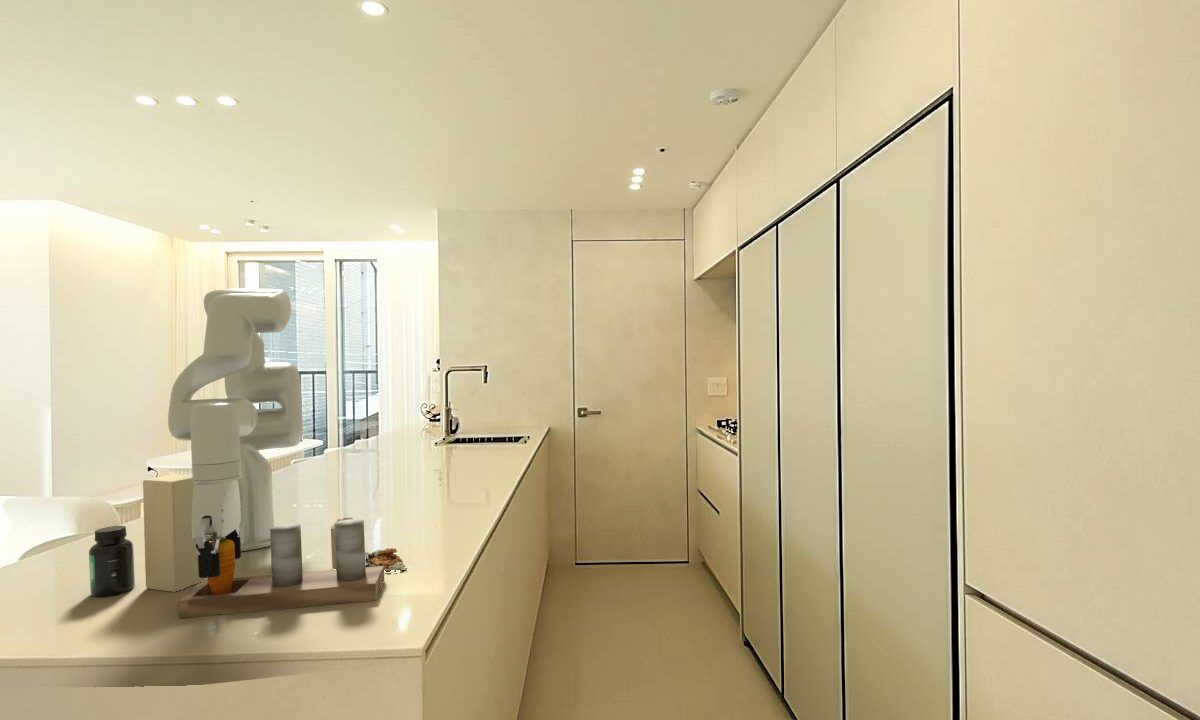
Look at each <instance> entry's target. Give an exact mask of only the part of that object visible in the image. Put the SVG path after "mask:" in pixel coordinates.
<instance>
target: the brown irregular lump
mask: <svg viewBox="0 0 1200 720" xmlns="http://www.w3.org/2000/svg"><path fill="white" fill-rule="evenodd" d="M397 552H398V550H397V548H393V547H392V548H389V547H387V548H385V549H381V548H377V549H376V550H375V551H372V552H371V553H369V552H368V551H365V564H368V567H374V566H384V570H385V571H386V572H390V571H391V570H395V571H394V572H396V570H400V571H402V570H404V571H406V570H407V569H406V568H405V567H407V566H406V565H405V563H404V561H403V559H402V558H400V556H399V555H397V554H395V553H397ZM405 569H406V570H405ZM402 572H403V571H402Z"/></svg>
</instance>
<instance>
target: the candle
mask: <svg viewBox="0 0 1200 720" xmlns="http://www.w3.org/2000/svg"><path fill="white" fill-rule="evenodd" d="M349 519H354V518H353V517H343V518H342V519H340V518H338V519H336V521H335V522H334V523H333V524H332V526H331V527H330V541H331V542H330V543H331V566H332V567H331V568H333V569H336V545H335V523H337V522H339V521H343V520H349ZM333 569H332V570H333Z"/></svg>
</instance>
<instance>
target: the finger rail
mask: <svg viewBox="0 0 1200 720" xmlns="http://www.w3.org/2000/svg"><path fill="white" fill-rule="evenodd" d="M334 523H335V522H334ZM301 529H302V527H301V524H300V523H296V522H295V523H283V524H278V525H274V527H272V528H270V542H271V546H270V558H271V559H270V563H271V564H270V565H271V574H270V575H269V574H267V575H256V576H245V577H233V583H232V587H231V590H230V593H229V594H218V595H213V593H212V591H211V589H210V586H209V582H208V579H207V580H206V579H205V581H202V582H201V583H198V584H196V585H195V587H194V588H192V589H191V590H190V591H188V592H187V593H186V594H184V596H182V597H181V598H180V599H179V600H177V603H178V604H177V606H178V619H186V618H185V617H189V618H196V617H195V616H200V617H207V616H206V615H211V616H218V615H217V614H222V615H230V614H231V613H232V614H242V613H243V612H244V613H252V612H251V611H255V612H264V610H266V611H275V609H277V610H284V608H285V609H286V608H287V609H293V608H292V607H298V608H305V607H304V606H309V607H315V606H314V605H320V606H329V605H328V604H331V605H338V604H337V603H342V604H346V603H345V602H353V603H359V602H358V601H364V602H373V601H372V600H375V601H377V599H378V597H377V596H379V595H380V592H381V590H382V588H381V586H382V587H383V585H384V583H385V573H384V566H374V567H373V566H372V567H370V566H365V564H366V561H365V560H366V557H365V556H366V555H365V552H366V543H365V539H366V538H365V520H363V519H360V518H353V519H349V520H343V521H339V522H337V523H335V545H336V570H333V569H327V570H317V571H316V570H314V571H303V555H302V553H303V551H302V530H301ZM383 582H384V583H383ZM382 584H383V585H382ZM380 589H381V590H380ZM379 591H380V592H379ZM378 594H379V595H378ZM370 600H371V601H370ZM326 604H327V605H326ZM302 606H303V607H302ZM287 609H286V610H287ZM241 612H242V613H241ZM244 613H243V614H244ZM232 614H231V615H232ZM183 617H184V618H183Z"/></svg>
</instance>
